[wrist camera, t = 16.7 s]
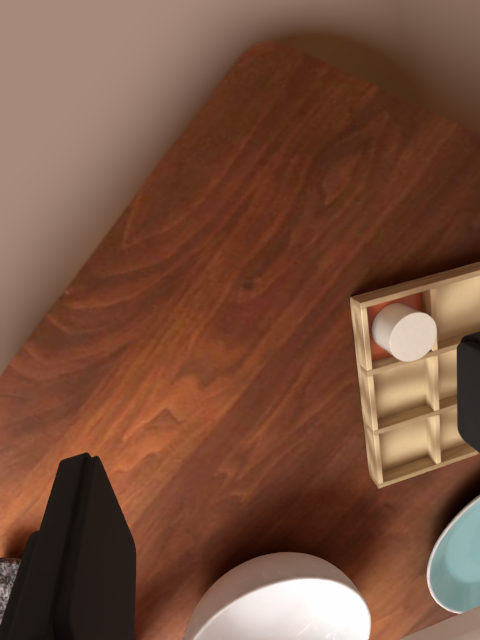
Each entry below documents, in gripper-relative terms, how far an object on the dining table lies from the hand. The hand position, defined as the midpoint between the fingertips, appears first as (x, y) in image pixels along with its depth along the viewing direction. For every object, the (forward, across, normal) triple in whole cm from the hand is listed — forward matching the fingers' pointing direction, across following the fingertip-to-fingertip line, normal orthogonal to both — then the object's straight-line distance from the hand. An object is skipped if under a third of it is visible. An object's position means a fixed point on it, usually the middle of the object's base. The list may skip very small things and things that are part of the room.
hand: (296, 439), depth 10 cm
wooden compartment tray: (+26, -25, +18) cm, 40 cm away
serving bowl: (+26, +1, +41) cm, 49 cm away
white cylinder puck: (+25, -18, +11) cm, 33 cm away
